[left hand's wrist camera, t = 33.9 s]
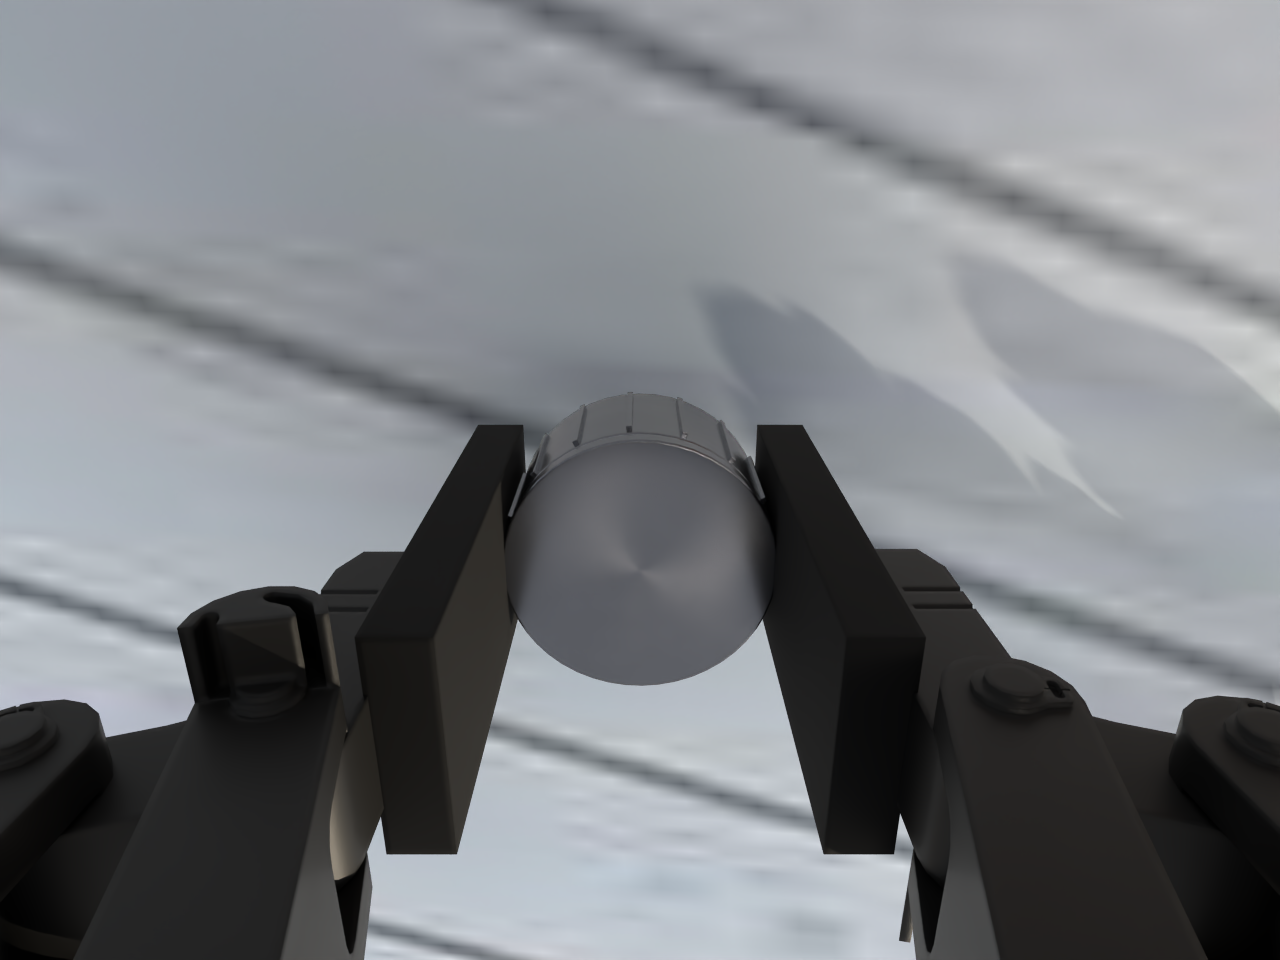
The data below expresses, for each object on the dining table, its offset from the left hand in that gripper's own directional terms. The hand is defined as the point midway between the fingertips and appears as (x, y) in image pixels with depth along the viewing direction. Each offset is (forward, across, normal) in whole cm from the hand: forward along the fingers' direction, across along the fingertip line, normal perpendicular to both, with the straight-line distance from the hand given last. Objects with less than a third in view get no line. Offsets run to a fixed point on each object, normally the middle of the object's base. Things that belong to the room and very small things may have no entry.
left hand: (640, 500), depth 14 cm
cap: (-2, 0, 0) cm, 2 cm away
